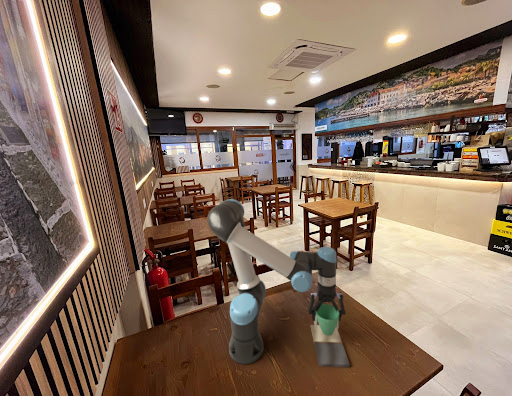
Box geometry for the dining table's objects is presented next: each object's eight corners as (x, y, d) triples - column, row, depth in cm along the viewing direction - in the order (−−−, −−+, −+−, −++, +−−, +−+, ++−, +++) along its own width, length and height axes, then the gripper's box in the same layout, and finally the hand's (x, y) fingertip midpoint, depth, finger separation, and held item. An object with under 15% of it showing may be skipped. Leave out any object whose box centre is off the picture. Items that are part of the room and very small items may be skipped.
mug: (343, 338, 95) (343, 318, 93) (321, 341, 94) (321, 321, 92) (328, 314, 109) (328, 296, 107) (309, 316, 108) (308, 298, 106)
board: (318, 366, 88) (318, 363, 88) (310, 327, 108) (310, 324, 107) (349, 367, 87) (349, 364, 87) (336, 327, 107) (336, 324, 106)
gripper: (302, 287, 94) (303, 332, 99) (355, 287, 92) (353, 333, 97) (300, 277, 101) (301, 319, 106) (349, 277, 99) (347, 320, 104)
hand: (326, 326), depth 101 cm, fingers closed on mug, 9 cm apart
